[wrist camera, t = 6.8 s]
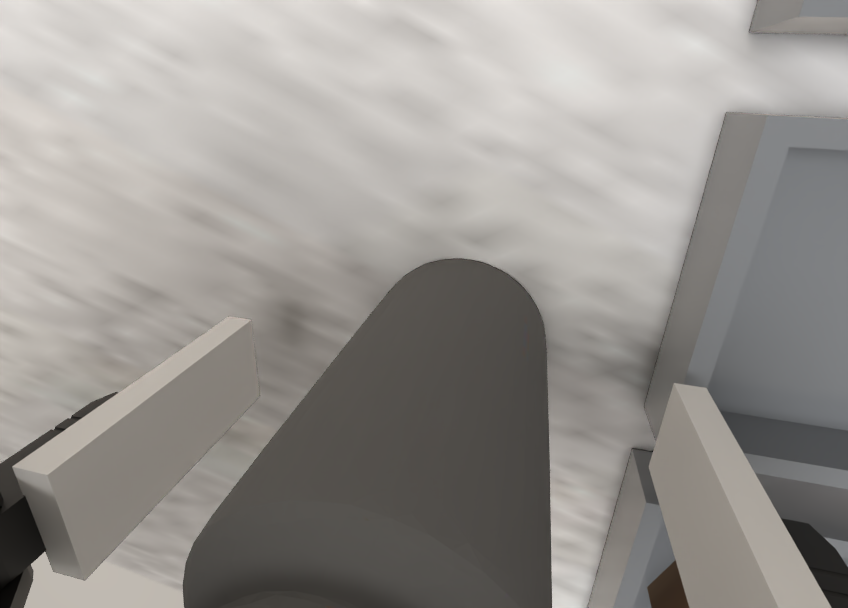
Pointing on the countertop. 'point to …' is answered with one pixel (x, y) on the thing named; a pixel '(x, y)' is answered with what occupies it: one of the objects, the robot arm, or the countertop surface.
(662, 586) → the cube
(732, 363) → the dish
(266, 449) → the bottle
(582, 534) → the countertop surface
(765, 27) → the dish
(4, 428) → the countertop surface
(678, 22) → the countertop surface
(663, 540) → the dish
